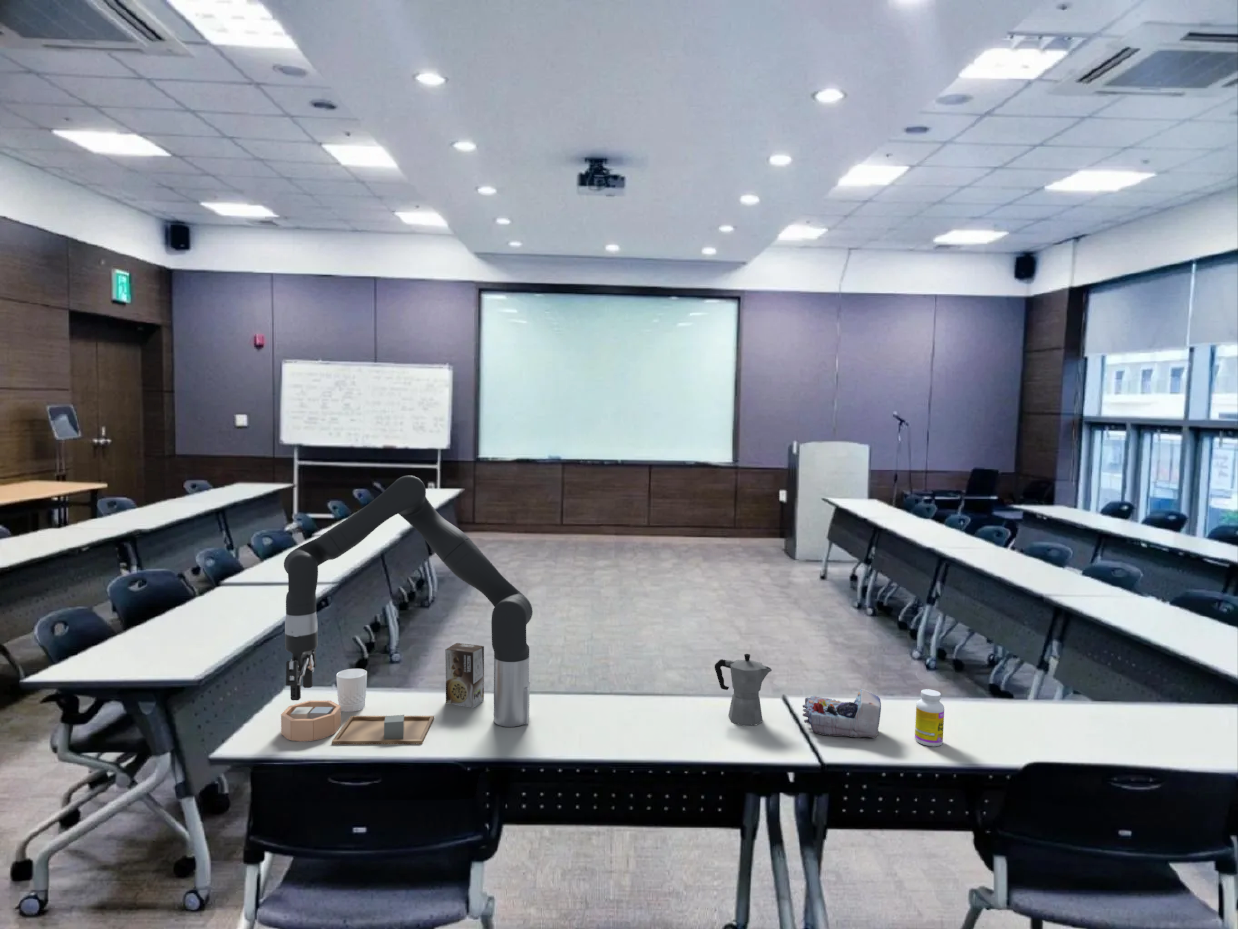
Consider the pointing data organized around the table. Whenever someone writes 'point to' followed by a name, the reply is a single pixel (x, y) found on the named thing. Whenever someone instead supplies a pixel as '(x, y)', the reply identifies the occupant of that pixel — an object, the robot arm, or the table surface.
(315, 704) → the terracotta bowl
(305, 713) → the pale grey cube
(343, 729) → the walnut tray
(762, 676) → the coffeepot
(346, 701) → the white cup
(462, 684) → the coffee box
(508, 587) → the robot arm
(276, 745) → the table surface
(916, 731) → the supplement bottle
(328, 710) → the pale blue cube
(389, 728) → the medium grey cube
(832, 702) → the cell model
